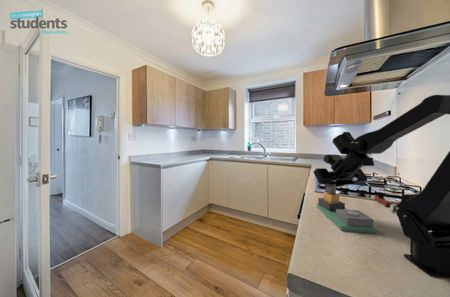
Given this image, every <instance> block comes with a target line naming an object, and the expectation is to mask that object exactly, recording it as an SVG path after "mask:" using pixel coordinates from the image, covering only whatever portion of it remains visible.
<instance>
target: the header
mask: <svg viewBox="0 0 450 297" xmlns="http://www.w3.org/2000/svg"><path fill="white" fill-rule="evenodd" d="M317 202H318V203H317V204H318V205H319V206H321V207H323V208H325V209H327V210H328V211H336V209H343V210H345V208H346V204H345V202H342V201H340V200H339V203H329V202H327V201H325V200H324V197H318V201H317Z"/></svg>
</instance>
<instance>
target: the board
mask: <svg viewBox="0 0 450 297" xmlns="http://www.w3.org/2000/svg"><path fill="white" fill-rule="evenodd" d="M316 208H317V209H318V210H319V211H320V212H322V214H323V215H324V216H325V217H326V218H327V219H329V221H331V222H332V224H334V225H335V226H336V228H338V229H339V230H340V231H342V232H343V231H344V232H355V233H357V232H358V233H369V234H370V233H371V234H376V229H377V228H376V227H375V226H373V227H362V226H348V225H346V224H345V223H344V222H343V221H341V220H340V219H339V218H338V217H337V216H336V211H328V210H327V209H325V208H323V207H321V206H319V205H318V203H316ZM345 210H349V209H348V208H347V207H345Z"/></svg>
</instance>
